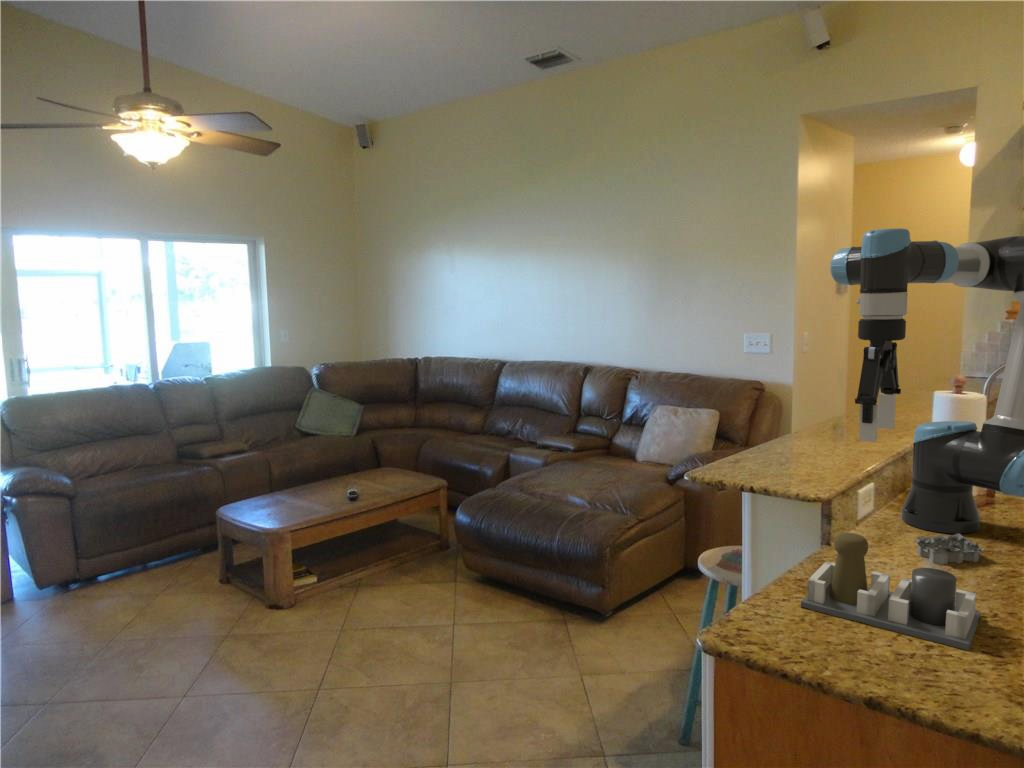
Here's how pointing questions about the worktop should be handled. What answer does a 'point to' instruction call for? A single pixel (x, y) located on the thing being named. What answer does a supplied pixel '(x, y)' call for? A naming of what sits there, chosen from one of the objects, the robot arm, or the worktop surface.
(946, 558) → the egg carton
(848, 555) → the cork
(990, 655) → the worktop surface
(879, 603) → the socket board
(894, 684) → the worktop surface
